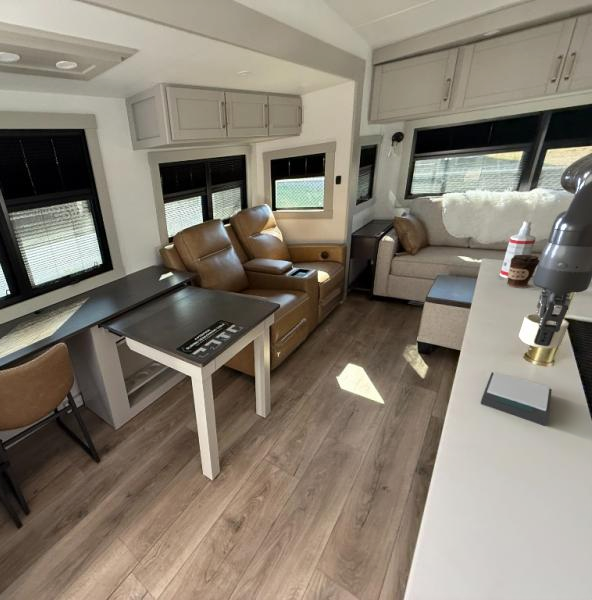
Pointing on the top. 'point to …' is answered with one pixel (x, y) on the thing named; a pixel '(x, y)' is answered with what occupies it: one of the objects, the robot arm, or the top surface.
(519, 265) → the coffee cup
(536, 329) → the bowl
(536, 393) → the scale
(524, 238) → the spray bottle
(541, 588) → the top surface
